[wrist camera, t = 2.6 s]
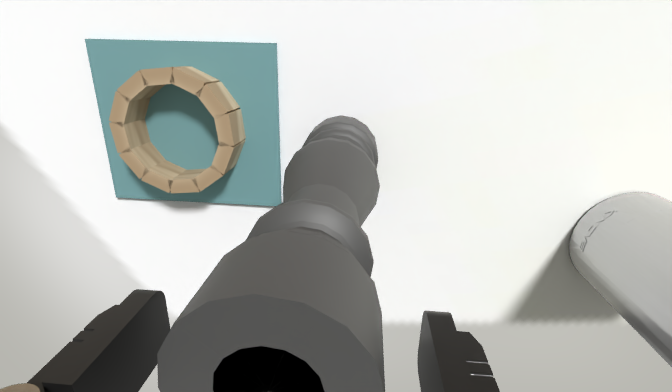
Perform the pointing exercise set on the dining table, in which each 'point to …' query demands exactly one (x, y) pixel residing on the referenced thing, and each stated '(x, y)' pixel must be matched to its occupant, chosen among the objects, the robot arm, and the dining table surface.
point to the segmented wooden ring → (135, 135)
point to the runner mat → (197, 115)
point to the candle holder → (292, 286)
